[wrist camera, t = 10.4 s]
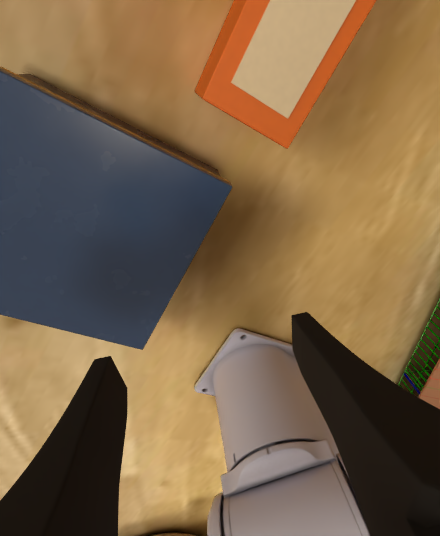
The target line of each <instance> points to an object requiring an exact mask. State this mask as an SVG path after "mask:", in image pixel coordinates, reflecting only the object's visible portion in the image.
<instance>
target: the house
mask: <svg viewBox="0 0 440 536" xmlns="http://www.w3.org/2000/svg"><path fill="white" fill-rule="evenodd" d="M439 302H440V299H439V301H438V303H437V305H436V307H435V309H434V311H433V313H432V315H431V317H430V320H429V322H428V324H427V326H426V328H425V330H424V332H423V334H422V336H421V338H420V340H419V342H418V344H417V346H416V348H415V351H414V353H413V355H412V357H411V359H410V361H409V363H408V365H407V367H406V369H405V371H404V373H403V375H402V377H401V379H400V381H399V384H398V385H399V386H400V387H402V386H401V385H400V382H401V380H402V381H403V379H402V378H403V376H405V377H406V378H407V380H408V381H409V382H410V383H411V385H412V386H413V387H414V388H413V390H414V389H415V390H416V391H417V392H418V394H419V396H418V398H420V399H422V400H424V401H426V402H427V403H429V404H431V405H433V406H435V407H436V408H438V409H440V358H439V357H438V356H437V355H436V354H435V352H434V351H435V349H436V347H437V348H438V349H439V350H440V348H439V347H438V344H439V342H440V338H439V337H438V336H437V335H436V334H435V333H434V332H433V331H432V330H431V329H430V328H429V327H428V325H429V323H430V321H431V322H432V323H433V324H434V325H435V326H436V327H437V328H438V329H439V330H440V328H439V327H438V326H437V325H436V324H435V323H434V322H433V321H432V320H431V319H432V317H433V315H435V316H436V317H437V318H438V319H439V320H440V318H439V317H438V316H437V315H436V314H435V311H436V309H437V308H438V309H439V310H440V308H439V307H438V304H439ZM427 328H428V329H429V330H430V331H431V332H432V333H433V334H434V335H435V336H436V337H437V338H438V339H439V341H438V343H437V345H436V344H435V343H434V342H433V341H432V340H431V339H430V338H429V337H428V336H427V335H426V334H425V331H426V329H427ZM424 334H425V335H426V336H427V337H428V339H429V340H430V341H431V342H432V343H433V344H434V345H435V348H434V350H432V349H431V348H430V347H429V346H428V345H427V344H426V343H425V342H424V341H423V340H422V337H423V335H424ZM420 341H422V342H423V343H424V344H425V345H426V346H427V347H428V348H429V349H430V350H431V351H432V352H433V353H434V354H435V356H436V357H437V358H438V359H439V360H438V362H437V364H436V363H435V362H434V361H433V360H432V359H431V357H432V355H433V353H432V355H431V356H430V357H429V356H428V354H427V353H426V352H425V351H424V350H423V349H422V348H421V347H420V346H419V343H420ZM418 346H419V348H420V349H421V350H422V351H423V352H424V353H425V354H426V355H427V356H428V358H429V359H428V361H427V363H426V362H425V360H424V359H423V358H422V357H421V356H420V355H419V354H418V353H417V351H416V350H417V347H418ZM415 352H416V353H417V354H418V356H419V357H420V358H421V359H422V360H423V361H424V362H425V364H426V366H425V368H423V367H422V366H421V365H420V364H419V363H418V361H417V360H416V359H415V358H414V357H413V356H414V354H415ZM412 358H413V359H414V360H415V361H416V362H417V363H418V365H419V366H420V367H421V368H422V369H423V371H418V370H417V369H416V368H415V367H414V366H413V364H412V363H411V360H412ZM429 360H431V361H432V362H433V363H434V364H435V365H436V366H435V367H434V369H432V368H431V367H430V366H429V365H428V362H429ZM409 364H411V365H412V366H413V368H414V369H415V370H416V371H415V372H411V371H410V369H409V368H408V366H409ZM427 366H428V367H429V368H430V369H431V370H425V369H426V367H427ZM407 369H408V370H409V371H410V372H408V371H407ZM427 371H432V373H431V375H430V374H429V373H428V372H427ZM405 372H407V373H405ZM416 372H418V374H419V375H420V377H419V379H417V377H416V376H415V375H414V374H413V373H416ZM420 372H421V373H420ZM423 372H425V373H426V374H427V375H428V376H429V378H428V380H426V379H425V378H424V376H423V375H422V373H423ZM409 373H411V374H412V375H413V376H414V378H415V379H416V380H417V382H416V381H415V380H414V379H413V378H412V376H411V375H410V374H409ZM407 374H408V375H409V376H410V377H411V378H412V380H413V381H414V382H415V383H416V385H417V386H416V385H414V383H413V382H412V381H411V380H410V378H409V377H408V376H407ZM421 377H422V378H423V380H424V381H425V382H426V384H425V385H422V383H421V382H420V381H419V380H420V378H421ZM418 382H419V384H420V385H421V386H419V385H418V384H417V383H418ZM403 383H404V384H405V385H406V383H405V382H404V381H403ZM406 387H407V388H408V389H409V387H408V386H407V385H406ZM417 387H419V388H420V387H423V389H421V388H420V390H421V392H420V391H419V390H418V388H417ZM413 390H412V391H411V390H410V389H409V391H410V392H411V394H413V393H412V392H413ZM413 395H414V394H413Z"/></svg>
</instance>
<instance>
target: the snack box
mask: <svg viewBox="0 0 440 536" xmlns="http://www.w3.org/2000/svg"><path fill="white" fill-rule="evenodd" d="M375 2H376V0H234V2H233V4H232V7H231V9H230V11H229V13H228V16H227V18H226V20H225V23H224V25H223V27H222V29H221V32H220V34H219V36H218V39H217V41H216V43H215V46H214V48H213V50H212V52H211V55H210V57H209V59H208V62H207V64H206V66H205V68H204V71H203V73H202V75H201V78H200V80H199V82H198V85H197V87H196V89H195V93H196V94H198V95H199V96H200V97H201V98H202V99H203V100H205V101H207V102H209V103H210V104H212V105H214V106H215V107H217V108H219V109H220V110H222V111H224V112H225V113H227V114H229V115H231V116H232V117H234V118H236V119H237V120H239V121H241V122H242V123H244V124H246V125H247V126H249V127H251V128H253V129H254V130H256V131H258V132H259V133H261V134H263V135H264V136H266V137H268V138H269V139H271V140H273V141H275V142H276V143H278V144H280V145H281V146H283V147H285V148H286V149H287V148H288V147H289V145H290V144H291V142H292V140H293V139H294V137H295V135H296V134H297V132H298V130H299V129H300V127H301V125H302V124H303V122H304V120H305V119H306V117H307V115H308V114H309V112H310V110H311V109H312V107H313V105H314V104H315V102H316V100H317V99H318V97H319V95H320V94H321V92H322V90H323V89H324V87H325V85H326V84H327V82H328V80H329V79H330V77H331V75H332V74H333V72H334V70H335V69H336V67H337V65H338V64H339V62H340V60H341V59H342V57H343V55H344V54H345V52H346V50H347V49H348V47H349V45H350V44H351V42H352V40H353V39H354V37H355V35H356V34H357V32H358V30H359V29H360V27H361V25H362V24H363V22H364V20H365V19H366V17H367V15H368V14H369V12H370V10H371V8H372V7H373V5H374V3H375Z"/></svg>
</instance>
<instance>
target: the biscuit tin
mask: <svg viewBox="0 0 440 536" xmlns="http://www.w3.org/2000/svg"><path fill="white" fill-rule="evenodd" d="M231 189H232V185H231V182H230V181H228V180H226V179H224V178H222V177H221V176H220V174H219V172H218V170H217V169H215V168H213V167H211V166H209V165H207V164H205V163H203V162H201V161H199V160H197V159H195V158H193V157H191V156H189V155H187V154H185V153H183V152H182V151H180V150H178V149H176V148H174V147H172V146H170V145H168V144H166V143H164V142H162V141H160V140H158V139H156V138H154V137H152V136H150V135H148V134H146V133H144V132H142V131H140V130H138V129H136V128H134V127H133V126H131V125H129V124H127V123H125V122H123V121H121V120H119V119H117V118H115V117H113V116H111V115H109V114H107V113H105V112H103V111H101V110H99V109H97V108H95V107H93V106H91V105H89V104H87V103H85V102H84V101H82V100H80V99H78V98H76V97H74V96H72V95H70V94H68V93H66V92H64V91H62V90H60V89H58V88H56V87H54V86H52V85H50V84H48V83H46V82H44V81H42V80H40V79H38V78H36V77H35V76H33V75H31V74H15V73H13V72H11V71H9V70H7V69H5V68H3V67H0V315H4V316H8V317H12V318H16V319H20V320H24V321H28V322H32V323H36V324H41V325H45V326H49V327H53V328H57V329H61V330H65V331H69V332H73V333H77V334H81V335H85V336H89V337H93V338H97V339H101V340H105V341H109V342H113V343H117V344H121V345H125V346H129V347H133V348H137V349H141V350H143V348H144V347H145V345H146V343H147V341H148V339H149V337H150V336H151V334H152V332H153V330H154V328H155V327H156V325H157V323H158V321H159V319H160V318H161V316H162V314H163V312H164V310H165V308H166V307H167V305H168V303H169V301H170V299H171V298H172V296H173V294H174V292H175V290H176V289H177V287H178V285H179V283H180V281H181V280H182V278H183V276H184V274H185V272H186V270H187V269H188V267H189V265H190V263H191V261H192V260H193V258H194V256H195V254H196V252H197V251H198V249H199V247H200V245H201V243H202V242H203V240H204V238H205V236H206V234H207V232H208V231H209V229H210V227H211V225H212V223H213V222H214V220H215V218H216V216H217V214H218V213H219V211H220V209H221V207H222V205H223V203H224V202H225V200H226V198H227V196H228V194H229V193H230V191H231Z"/></svg>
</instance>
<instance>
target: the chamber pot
mask: <svg viewBox="0 0 440 536" xmlns="http://www.w3.org/2000/svg"><path fill="white" fill-rule="evenodd" d="M148 536H196V535H191V534H187V533H176V532H169V533H158V534H153V535H148Z"/></svg>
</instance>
